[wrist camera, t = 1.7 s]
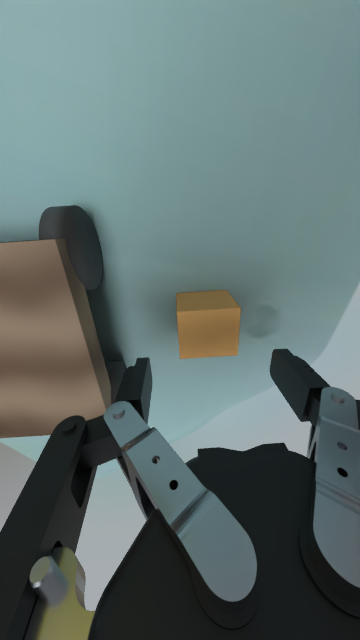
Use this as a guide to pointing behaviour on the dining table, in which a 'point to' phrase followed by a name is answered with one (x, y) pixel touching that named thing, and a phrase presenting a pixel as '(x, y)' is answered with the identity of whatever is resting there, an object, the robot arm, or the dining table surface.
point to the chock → (207, 324)
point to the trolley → (52, 328)
